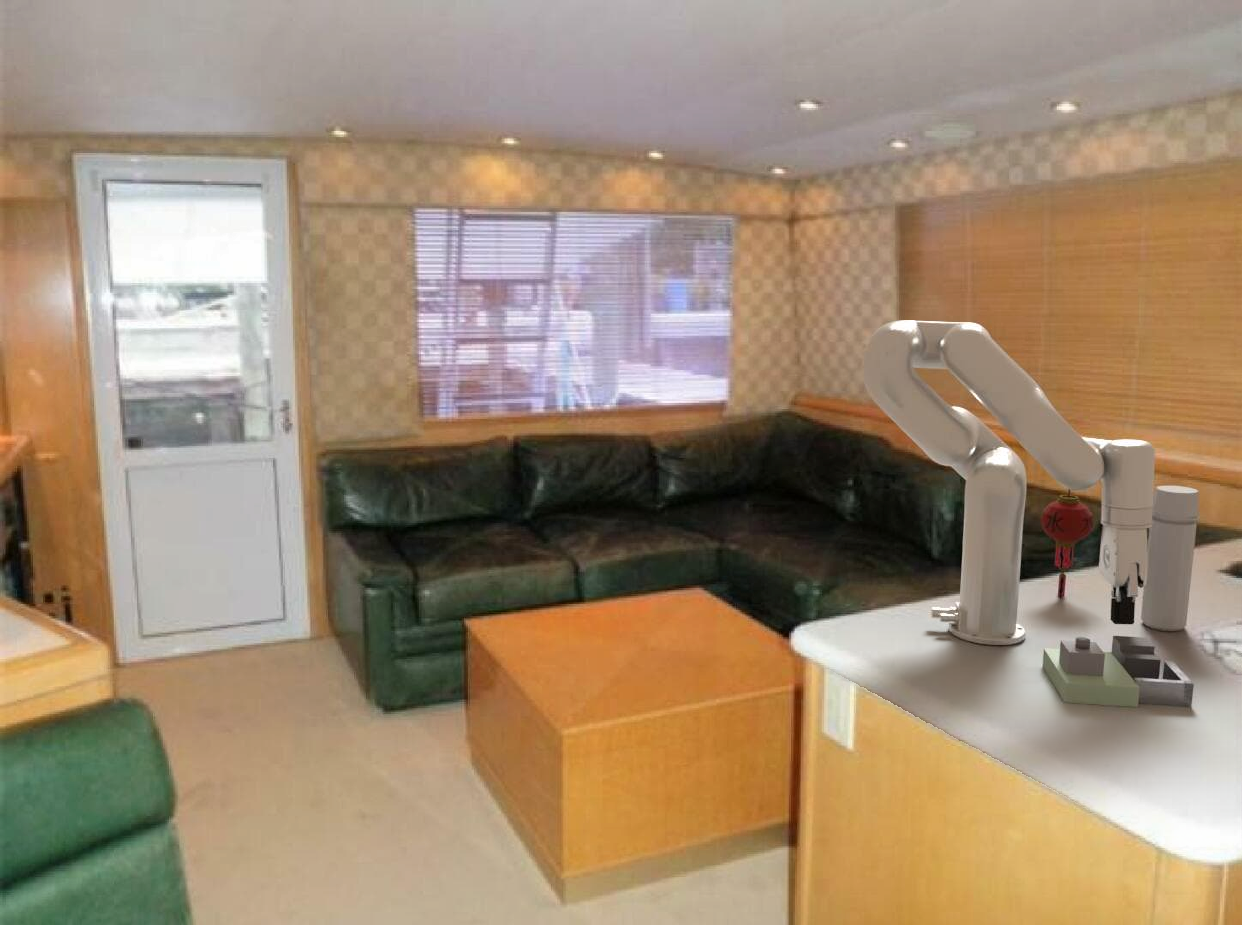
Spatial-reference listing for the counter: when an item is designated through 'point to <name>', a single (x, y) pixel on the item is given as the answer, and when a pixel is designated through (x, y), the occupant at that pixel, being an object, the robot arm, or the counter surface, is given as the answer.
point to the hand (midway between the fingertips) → (1122, 622)
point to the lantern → (1066, 530)
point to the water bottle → (1170, 557)
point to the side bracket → (1166, 688)
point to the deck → (1089, 675)
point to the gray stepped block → (1136, 656)
